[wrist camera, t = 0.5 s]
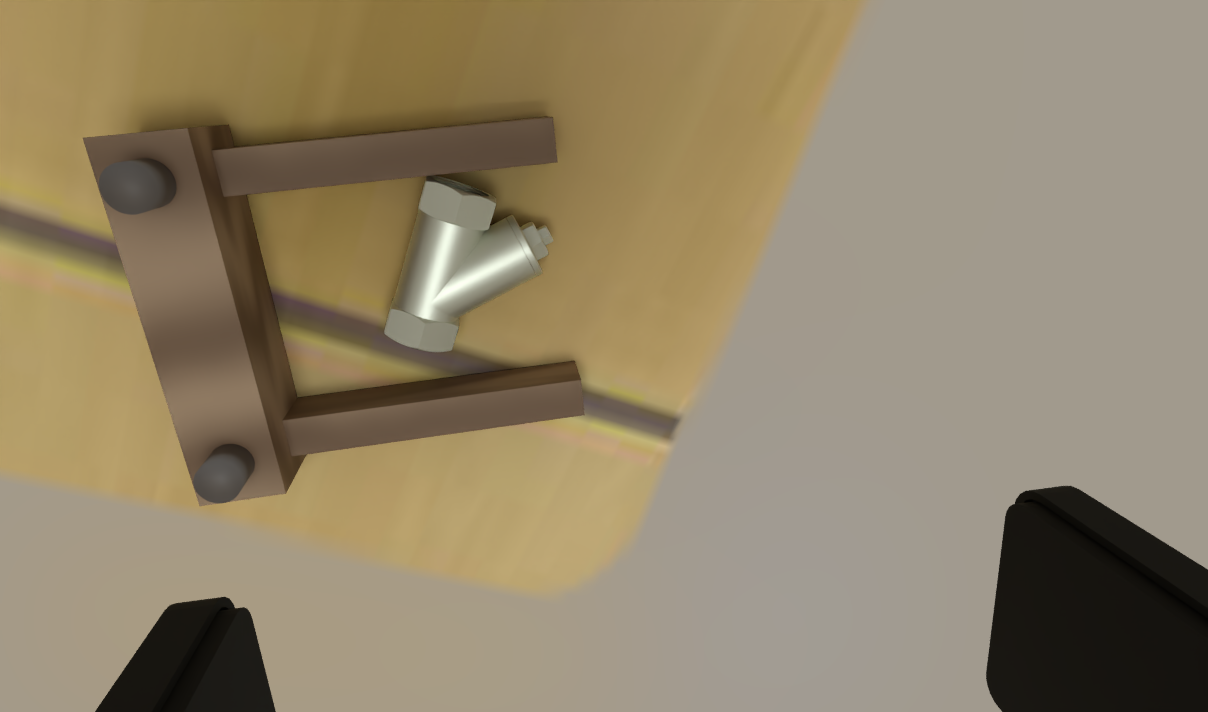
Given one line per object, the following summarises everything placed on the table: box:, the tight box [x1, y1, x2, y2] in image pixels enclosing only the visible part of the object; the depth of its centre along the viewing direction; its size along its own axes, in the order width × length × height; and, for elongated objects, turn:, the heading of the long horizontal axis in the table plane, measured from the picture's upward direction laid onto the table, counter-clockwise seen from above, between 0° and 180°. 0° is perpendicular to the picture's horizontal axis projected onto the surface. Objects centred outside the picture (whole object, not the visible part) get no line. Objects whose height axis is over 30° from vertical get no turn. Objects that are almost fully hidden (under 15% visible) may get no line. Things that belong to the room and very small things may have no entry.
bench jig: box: [83, 117, 584, 506], centre depth 34 cm, size 17×19×7 cm
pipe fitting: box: [384, 175, 553, 352], centre depth 37 cm, size 8×4×7 cm
